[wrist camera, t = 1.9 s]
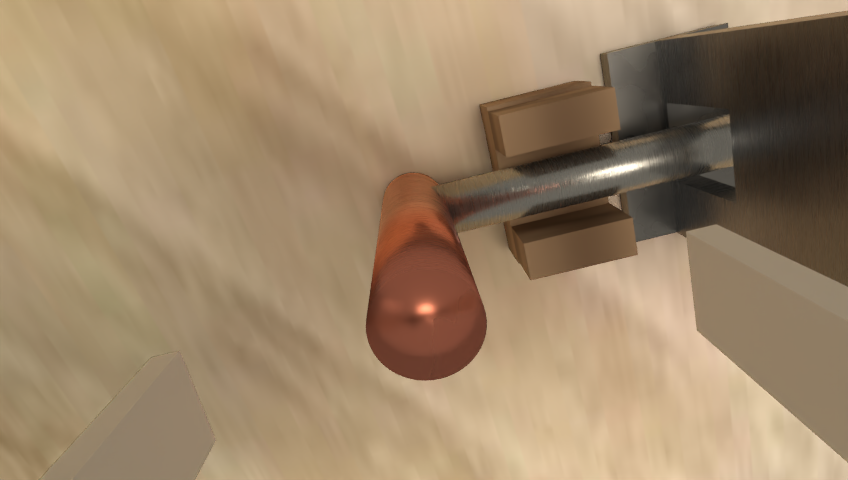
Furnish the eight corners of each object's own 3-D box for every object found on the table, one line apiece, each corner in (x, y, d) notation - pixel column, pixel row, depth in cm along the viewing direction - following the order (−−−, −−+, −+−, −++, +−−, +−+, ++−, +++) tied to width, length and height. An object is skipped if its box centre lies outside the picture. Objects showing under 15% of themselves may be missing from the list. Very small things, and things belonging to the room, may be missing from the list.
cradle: (509, 248, 31) (531, 284, 26) (479, 104, 29) (497, 111, 24) (597, 227, 31) (638, 258, 26) (574, 81, 29) (614, 82, 23)
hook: (391, 239, 30) (383, 392, 15) (376, 180, 29) (351, 286, 14) (842, 129, 29) (1277, 181, 15) (841, 66, 28) (1302, 56, 14)
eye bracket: (626, 237, 31) (795, 358, 18) (600, 53, 28) (777, 34, 15) (732, 212, 31) (983, 315, 18) (716, 24, 28) (1002, -21, 15)
